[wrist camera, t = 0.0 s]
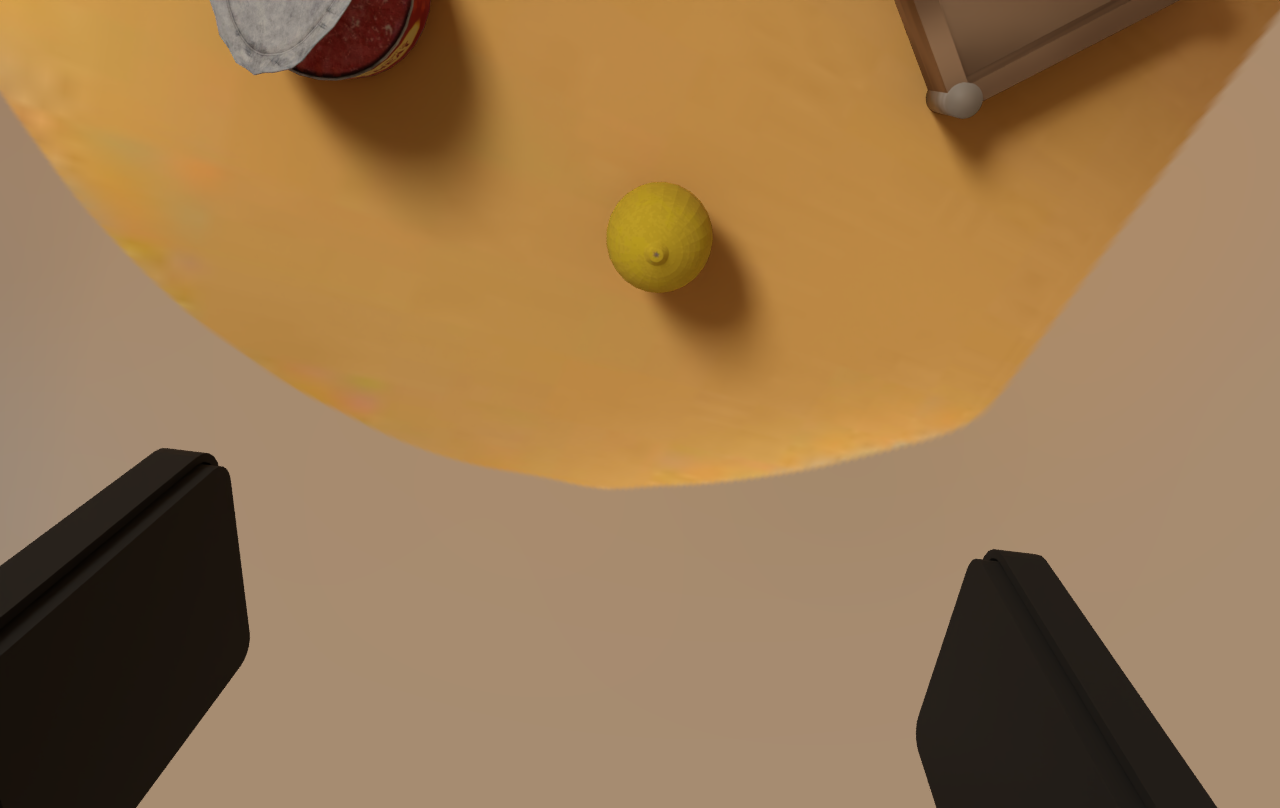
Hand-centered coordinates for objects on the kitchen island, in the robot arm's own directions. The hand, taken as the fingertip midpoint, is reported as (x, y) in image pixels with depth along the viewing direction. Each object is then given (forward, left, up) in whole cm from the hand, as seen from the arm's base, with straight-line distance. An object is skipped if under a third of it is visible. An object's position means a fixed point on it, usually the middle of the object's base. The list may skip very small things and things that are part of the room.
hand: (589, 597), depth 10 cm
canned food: (-17, -11, -38) cm, 43 cm away
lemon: (+2, -2, -38) cm, 38 cm away
